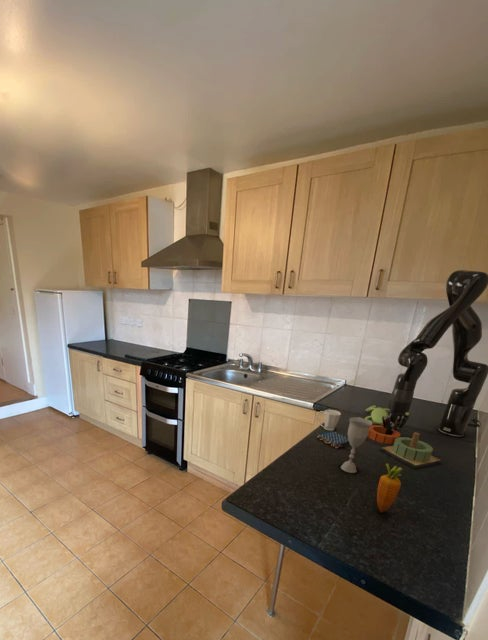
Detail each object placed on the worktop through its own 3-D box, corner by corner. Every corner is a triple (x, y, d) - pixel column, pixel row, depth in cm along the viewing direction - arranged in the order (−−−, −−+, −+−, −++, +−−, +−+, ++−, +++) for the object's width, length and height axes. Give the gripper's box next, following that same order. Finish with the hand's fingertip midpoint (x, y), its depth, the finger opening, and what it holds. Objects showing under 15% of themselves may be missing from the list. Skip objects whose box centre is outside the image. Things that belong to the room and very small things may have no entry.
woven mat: (336, 449, 129) (337, 444, 128) (315, 438, 137) (316, 433, 137) (354, 445, 133) (355, 440, 133) (332, 434, 142) (333, 430, 141)
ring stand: (404, 446, 135) (411, 424, 131) (440, 463, 123) (448, 439, 119) (380, 450, 130) (386, 427, 126) (414, 469, 117) (422, 443, 114)
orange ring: (379, 432, 146) (381, 423, 145) (404, 444, 136) (407, 435, 134) (359, 435, 142) (361, 426, 140) (383, 447, 131) (386, 438, 130)
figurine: (408, 420, 164) (411, 409, 162) (399, 436, 144) (403, 424, 142) (367, 410, 175) (370, 400, 173) (354, 423, 155) (357, 412, 153)
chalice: (350, 476, 110) (362, 426, 104) (333, 466, 116) (344, 419, 110) (364, 471, 114) (377, 423, 108) (347, 462, 119) (358, 416, 113)
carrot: (367, 506, 95) (380, 460, 90) (383, 506, 95) (397, 460, 90) (378, 518, 90) (392, 470, 85) (395, 518, 91) (410, 470, 86)
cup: (333, 433, 143) (337, 416, 140) (311, 426, 149) (315, 409, 147) (339, 429, 148) (343, 412, 145) (318, 422, 154) (321, 406, 152)
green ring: (406, 444, 133) (409, 435, 132) (436, 459, 123) (440, 449, 121) (385, 448, 129) (388, 439, 127) (415, 463, 118) (418, 453, 117)
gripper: (397, 403, 129) (386, 443, 135) (421, 400, 134) (409, 439, 140) (380, 397, 136) (370, 435, 141) (403, 395, 141) (393, 432, 146)
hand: (389, 437), depth 140 cm, fingers closed on orange ring, 2 cm apart
